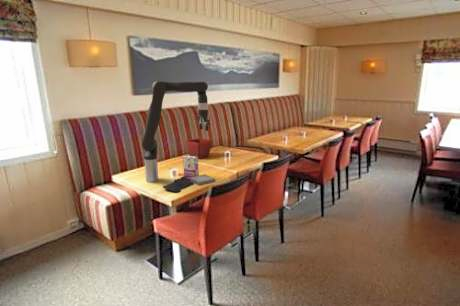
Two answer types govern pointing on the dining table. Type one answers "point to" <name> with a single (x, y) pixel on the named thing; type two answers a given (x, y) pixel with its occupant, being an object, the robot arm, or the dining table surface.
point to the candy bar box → (190, 166)
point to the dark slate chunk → (179, 184)
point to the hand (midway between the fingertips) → (203, 130)
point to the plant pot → (199, 147)
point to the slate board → (202, 179)
